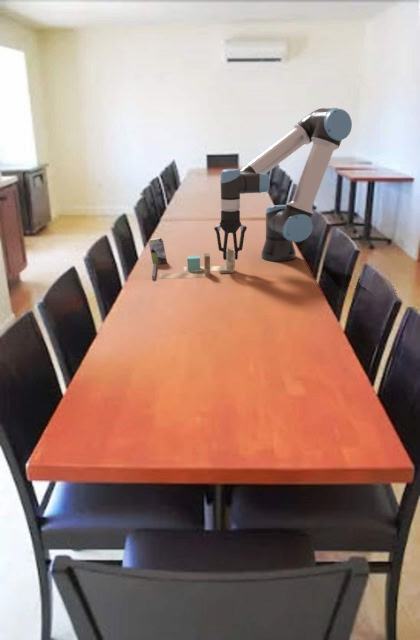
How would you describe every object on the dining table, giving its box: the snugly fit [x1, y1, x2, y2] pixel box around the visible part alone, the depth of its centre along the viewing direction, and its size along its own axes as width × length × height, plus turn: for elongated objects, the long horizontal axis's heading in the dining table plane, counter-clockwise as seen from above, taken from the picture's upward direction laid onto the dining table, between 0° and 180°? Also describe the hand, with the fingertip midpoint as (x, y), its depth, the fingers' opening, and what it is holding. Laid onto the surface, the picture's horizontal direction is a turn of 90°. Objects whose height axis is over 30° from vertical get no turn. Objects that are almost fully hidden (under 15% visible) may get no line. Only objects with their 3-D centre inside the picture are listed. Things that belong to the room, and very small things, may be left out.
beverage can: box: [148, 236, 168, 266], centre depth 240 cm, size 6×7×12 cm
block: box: [186, 254, 201, 272], centre depth 230 cm, size 5×5×5 cm
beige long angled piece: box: [183, 246, 235, 274], centre depth 230 cm, size 20×7×9 cm, turn 93°
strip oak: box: [158, 252, 211, 280], centre depth 221 cm, size 20×7×9 cm, turn 93°
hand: (230, 267), depth 232 cm, fingers closed on beige long angled piece, 2 cm apart
